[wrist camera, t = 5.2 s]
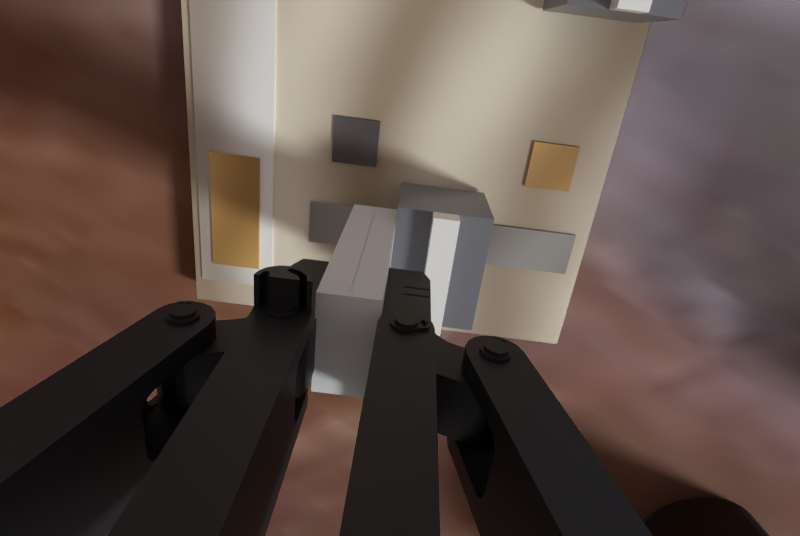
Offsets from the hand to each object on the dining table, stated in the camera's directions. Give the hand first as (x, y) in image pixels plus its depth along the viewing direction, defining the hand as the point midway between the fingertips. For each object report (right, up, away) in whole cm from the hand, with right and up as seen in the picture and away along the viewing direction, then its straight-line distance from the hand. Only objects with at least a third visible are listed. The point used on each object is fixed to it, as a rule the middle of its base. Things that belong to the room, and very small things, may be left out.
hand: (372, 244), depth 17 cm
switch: (+2, 0, +2) cm, 3 cm away
